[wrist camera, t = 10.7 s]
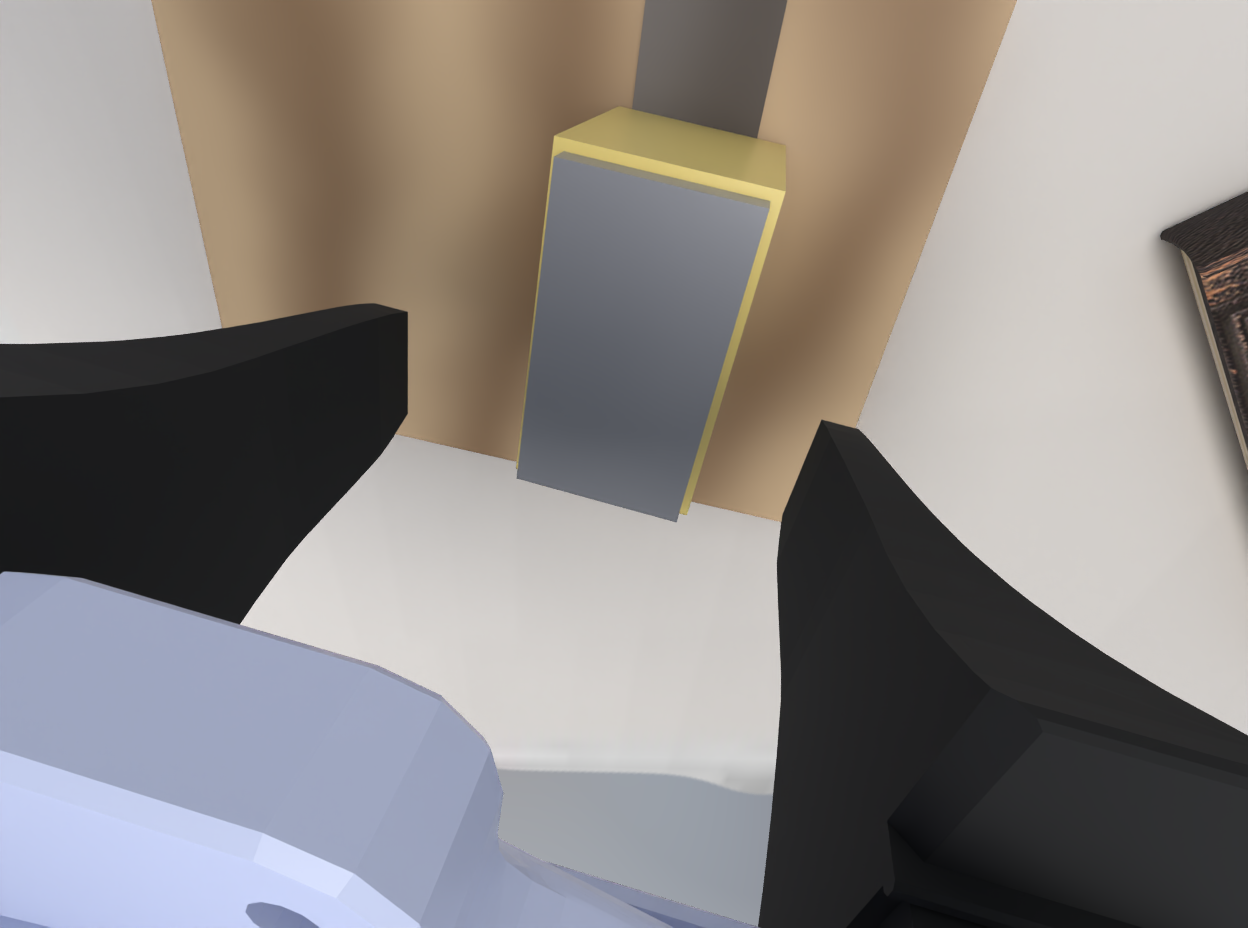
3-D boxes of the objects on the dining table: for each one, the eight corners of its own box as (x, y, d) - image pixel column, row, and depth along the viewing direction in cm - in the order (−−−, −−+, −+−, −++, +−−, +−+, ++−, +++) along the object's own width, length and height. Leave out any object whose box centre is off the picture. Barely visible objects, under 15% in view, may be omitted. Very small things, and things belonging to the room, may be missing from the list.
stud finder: (576, 369, 20) (507, 483, 15) (619, 106, 16) (543, 140, 11) (709, 404, 20) (683, 531, 15) (786, 145, 16) (785, 199, 11)
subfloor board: (256, 385, 24) (232, 401, 23) (155, -129, 16) (113, -139, 15) (815, 511, 22) (816, 534, 21) (1004, -1, 14) (1021, -3, 13)
